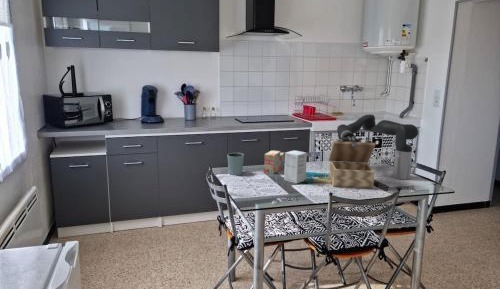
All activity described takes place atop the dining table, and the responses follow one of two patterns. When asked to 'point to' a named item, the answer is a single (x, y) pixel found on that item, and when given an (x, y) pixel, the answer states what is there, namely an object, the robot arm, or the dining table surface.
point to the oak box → (351, 175)
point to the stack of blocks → (273, 161)
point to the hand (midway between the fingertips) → (353, 143)
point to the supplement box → (295, 166)
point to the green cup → (235, 163)
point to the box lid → (351, 151)
